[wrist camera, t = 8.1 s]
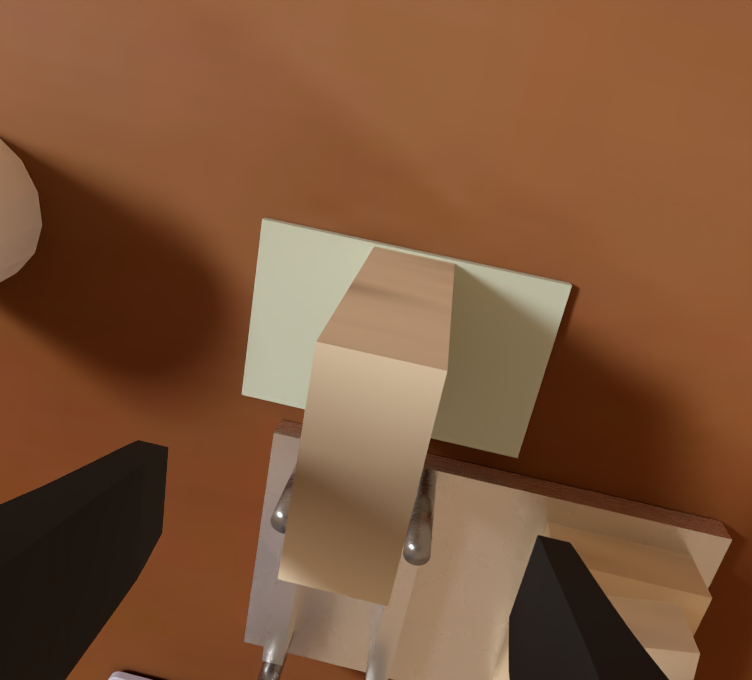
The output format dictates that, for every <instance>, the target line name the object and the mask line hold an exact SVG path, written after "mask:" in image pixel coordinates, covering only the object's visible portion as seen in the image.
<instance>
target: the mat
mask: <svg viewBox="0 0 752 680" xmlns="http://www.w3.org/2000/svg"><path fill="white" fill-rule="evenodd" d="M374 246H376V247H381V248H386V249H390V250H395V251H400V252H404V253H409V254H414V255H418V256H423V257H428V258H432V259H437V260H441V261H446V262H451V263H455V267H454V282H453V296H452V311H451V326H450V340H449V355H448V370H447V375H446V379H445V383H444V387H443V391H442V394H441V398H440V402H439V406H438V410H437V414H436V418H435V422H434V426H433V430H432V434H431V438H432V439H436V440H441V441H445V442H449V443H454V444H458V445H462V446H467V447H471V448H475V449H480V450H484V451H488V452H493V453H497V454H501V455H506V456H510V457H514V458H518V455H519V452H520V449H521V446H522V443H523V439H524V436H525V433H526V430H527V427H528V424H529V420H530V417H531V414H532V411H533V408H534V405H535V401H536V398H537V395H538V392H539V389H540V386H541V382H542V379H543V376H544V373H545V370H546V366H547V363H548V360H549V357H550V354H551V351H552V347H553V344H554V341H555V338H556V335H557V332H558V328H559V325H560V322H561V319H562V316H563V313H564V309H565V306H566V303H567V300H568V297H569V294H570V290H571V287H572V285H571V283H568V282H563V281H559V280H554V279H549V278H545V277H540V276H535V275H531V274H526V273H521V272H517V271H512V270H507V269H503V268H498V267H493V266H489V265H484V264H479V263H475V262H470V261H465V260H461V259H456V258H451V257H447V256H442V255H437V254H433V253H428V252H423V251H419V250H414V249H409V248H405V247H400V246H395V245H391V244H386V243H381V242H377V241H372V240H367V239H363V238H358V237H353V236H349V235H344V234H339V233H335V232H330V231H326V230H321V229H316V228H312V227H307V226H302V225H298V224H293V223H288V222H284V221H279V220H274V219H270V218H263V219H262V226H261V235H260V243H259V252H258V260H257V269H256V277H255V286H254V294H253V303H252V311H251V320H250V328H249V337H248V345H247V354H246V362H245V371H244V379H243V388H242V395H245V396H250V397H254V398H258V399H263V400H267V401H271V402H276V403H280V404H285V405H289V406H293V407H298V408H302V409H305V407H306V401H307V395H308V389H309V383H310V376H311V370H312V364H313V358H314V352H315V345H316V341H317V339H318V338H319V336H320V334H321V333H322V331H323V329H324V328H325V326H326V325H327V323H328V321H329V320H330V318H331V316H332V315H333V313H334V311H335V310H336V308H337V307H338V305H339V303H340V302H341V300H342V298H343V297H344V295H345V293H346V292H347V290H348V288H349V287H350V285H351V284H352V282H353V280H354V279H355V277H356V275H357V274H358V272H359V270H360V269H361V267H362V266H363V264H364V262H365V261H366V259H367V257H368V256H369V254H370V252H371V251H372V249H373V248H374Z"/></svg>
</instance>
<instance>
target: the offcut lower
mask: <svg viewBox="0 0 752 680" xmlns="http://www.w3.org/2000/svg"><path fill="white" fill-rule="evenodd" d="M543 536H545V537H549V538H553V539H558V540H562V541H566V542H570V543H571V544H572V546H573V547H574V549H575V550H576V551H577V553H578V554H579V556H580V557H581V559H582V560H583V562H584V563H585V565H586V566H587V568H588V569H589V571H590V572H591V574H592V575H593V577H594V578H595V580H596V581H597V583H598V584H599V586H600V587H601V589H602V590H603V592H604V593H605V595H606V596H616V597H626V598H636V599H646V600H656V601H666V602H676V603H679V604H680V607H681V609H682V611H683V614H684V616H685V619H686V621H687V623H688V626H689V628H690V630H691V633H692V635H693V636H694V634H695V632H696V630H697V628H698V626H699V624H700V622H701V620H702V618H703V616H704V614H705V612H706V610H707V608H708V606H709V604H710V602H711V600H712V596H711V594H710V592H709V590H708V588H707V586H706V584H705V582H704V580H703V578H702V576H701V574H700V572H699V570H698V568H697V566H696V564H695V562H694V560H693V558H692V556H690V555H685V554H681V553H677V552H673V551H669V550H664V549H660V548H656V547H652V546H647V545H643V544H639V543H635V542H630V541H626V540H622V539H618V538H613V537H609V536H605V535H601V534H596V533H592V532H588V531H584V530H579V529H575V528H571V527H567V526H562V525H558V524H554V523H550V522H548V523H547V526H546V529H545V532H544V534H543ZM492 680H510V679H509V634H508V637H507V640H506V642H505V645H504V648H503V651H502V654H501V657H500V659H499V662H498V665H497V668H496V671H495V674H494V676H493V679H492Z"/></svg>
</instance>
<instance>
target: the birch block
mask: <svg viewBox="0 0 752 680" xmlns="http://www.w3.org/2000/svg"><path fill="white" fill-rule="evenodd" d="M454 267H455V263H451V262H446V261H441V260H437V259H432V258H428V257H423V256H418V255H414V254H409V253H404V252H400V251H395V250H390V249H386V248H381V247H376V246H374V248H373V249H372V251H371V252H370V254H369V256H368V257H367V259H366V261H365V262H364V264H363V266H362V267H361V269H360V270H359V272H358V274H357V275H356V277H355V279H354V280H353V282H352V284H351V285H350V287H349V288H348V290H347V292H346V293H345V295H344V297H343V298H342V300H341V302H340V303H339V305H338V307H337V308H336V310H335V311H334V313H333V315H332V316H331V318H330V320H329V321H328V323H327V325H326V326H325V328H324V329H323V331H322V333H321V334H320V336H319V338H318V339H317V341H316V345H315V352H314V358H313V364H312V370H311V376H310V383H309V389H308V395H307V401H306V407H305V413H304V420H303V426H302V432H301V438H300V444H299V450H298V457H297V463H296V469H295V475H294V481H293V488H292V494H291V500H290V506H289V512H288V518H287V525H286V531H285V537H284V543H283V549H282V555H281V562H280V568H279V574H278V579H279V580H283V581H287V582H291V583H295V584H299V585H303V586H307V587H311V588H315V589H319V590H324V591H328V592H332V593H336V594H340V595H344V596H348V597H352V598H356V599H360V600H364V601H368V602H372V603H376V604H380V605H384V606H388V605H389V601H390V597H391V594H392V590H393V586H394V582H395V578H396V574H397V570H398V566H399V562H400V558H401V554H402V550H403V546H404V542H405V538H406V534H407V530H408V526H409V522H410V518H411V514H412V510H413V506H414V502H415V498H416V494H417V490H418V486H419V482H420V478H421V474H422V470H423V466H424V462H425V458H426V454H427V450H428V446H429V442H430V438H431V434H432V430H433V426H434V422H435V418H436V414H437V410H438V406H439V402H440V398H441V394H442V391H443V387H444V383H445V379H446V375H447V370H448V355H449V340H450V326H451V311H452V296H453V282H454Z"/></svg>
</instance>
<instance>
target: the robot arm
mask: <svg viewBox="0 0 752 680" xmlns="http://www.w3.org/2000/svg"><path fill="white" fill-rule="evenodd" d="M167 458H168V447H165V446H160V445H156V444H152V443H148V442H144V441H139V440H138V441H135V442H133V443H131V444H129V445H126V446H124V447H122V448H120V449H118V450H116V451H114V452H112V453H110V454H108V455H106V456H104V457H102V458H100V459H98V460H96V461H94V462H92V463H90V464H88V465H86V466H84V467H82V468H80V469H77V470H75V471H73V472H71V473H69V474H67V475H65V476H63V477H61V478H59V479H57V480H55V481H53V482H50V483H48V484H46V485H44V486H42V487H40V488H37V489H35V490H33V491H30V492H28V493H26V494H23V495H21V496H19V497H16V498H14V499H12V500H10V501H7V502H5V503H3V504H0V680H65V679H66V678H67V677H68V675H69V674H70V672H71V671H72V670H73V668H74V667H75V665H76V664H77V663H78V661H79V660H80V658H81V657H82V656H83V654H84V653H85V651H86V650H87V649H88V647H89V646H90V645H91V643H92V642H93V640H94V639H95V638H96V636H97V635H98V633H99V632H100V631H101V629H102V628H103V626H104V625H105V624H106V622H107V621H108V620H109V618H110V617H111V615H112V614H113V613H114V611H115V610H116V608H117V607H118V605H119V604H120V603H121V601H122V600H123V598H124V597H125V596H126V594H127V593H128V591H129V590H130V588H131V587H132V586H133V584H134V583H135V581H136V580H137V578H138V577H139V575H140V573H141V571H142V569H143V568H144V566H145V564H146V562H147V560H148V559H149V557H150V555H151V553H152V551H153V549H154V547H155V545H156V543H157V541H158V539H159V538H160V536H161V534H162V527H163V513H164V500H165V486H166V472H167ZM509 679H510V680H669V679H668V678H667V676H666V675H665V674H664V673H663V671H662V670H661V669H660V668H659V666H658V665H657V664H656V663H655V661H654V660H653V659H652V658H651V656H650V655H649V654H648V653H647V651H646V650H645V649H644V647H643V646H642V645H641V643H640V642H639V641H638V639H637V638H636V637H635V635H634V634H633V633H632V631H631V630H630V629H629V627H628V626H627V624H626V623H625V622H624V620H623V619H622V617H621V616H620V615H619V613H618V612H617V610H616V609H615V608H614V606H613V605H612V603H611V602H610V600H609V599H608V597H607V596H606V595H605V593H604V592H603V590H602V589H601V587H600V586H599V584H598V583H597V581H596V580H595V578H594V577H593V575H592V574H591V572H590V571H589V569H588V568H587V566H586V565H585V563H584V562H583V560H582V559H581V557H580V556H579V554H578V553H577V551H576V550H575V549H574V547H573V546H572V544H571V543H570V542H566V541H562V540H558V539H553V538H549V537H545V536H541V535H537V538H536V541H535V544H534V547H533V550H532V553H531V556H530V559H529V561H528V564H527V567H526V570H525V573H524V576H523V579H522V582H521V584H520V587H519V590H518V593H517V596H516V599H515V602H514V605H513V607H512V610H511V613H510V616H509ZM108 680H152V679H148V678H144V677H140V676H136V675H133V674H129V673H125V672H119V671H118V672H114V673H113V674H112V675H111V676H110V678H109V679H108Z"/></svg>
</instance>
